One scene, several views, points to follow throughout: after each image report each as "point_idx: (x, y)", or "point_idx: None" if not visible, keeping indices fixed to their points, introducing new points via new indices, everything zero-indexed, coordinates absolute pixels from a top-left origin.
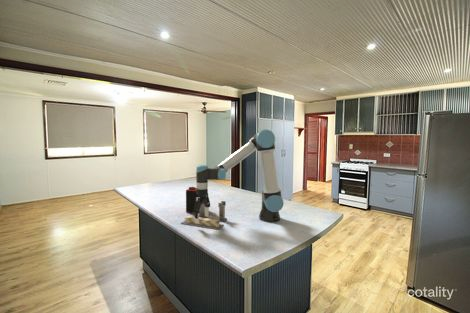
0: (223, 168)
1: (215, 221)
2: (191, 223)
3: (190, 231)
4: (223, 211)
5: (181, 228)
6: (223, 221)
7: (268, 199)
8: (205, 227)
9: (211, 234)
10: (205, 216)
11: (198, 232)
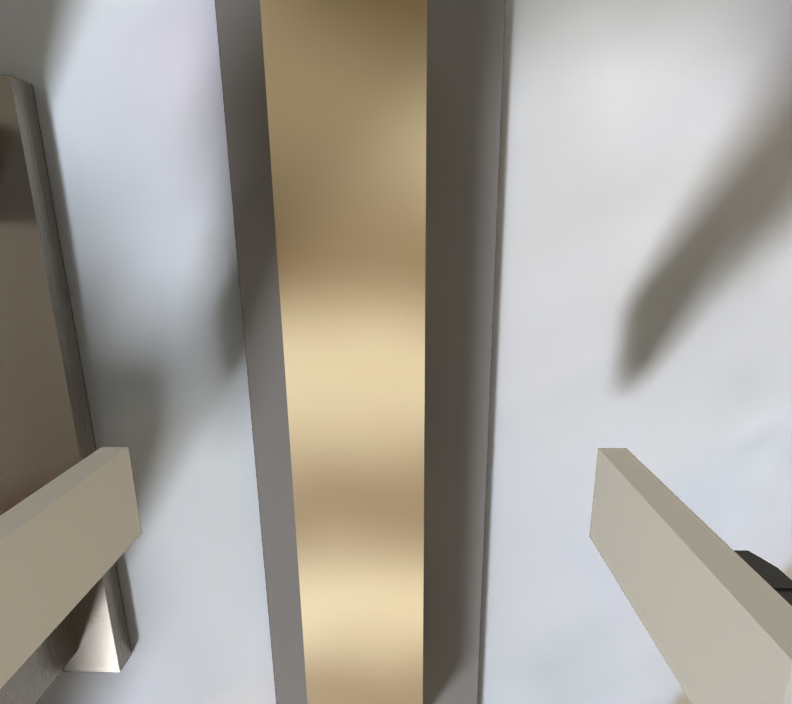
0: None
1: (411, 61)
2: (430, 615)
3: (729, 472)
4: None
5: (644, 653)
6: (22, 83)
7: None
8: (489, 309)
9: (783, 19)
10: None
11: (741, 323)
